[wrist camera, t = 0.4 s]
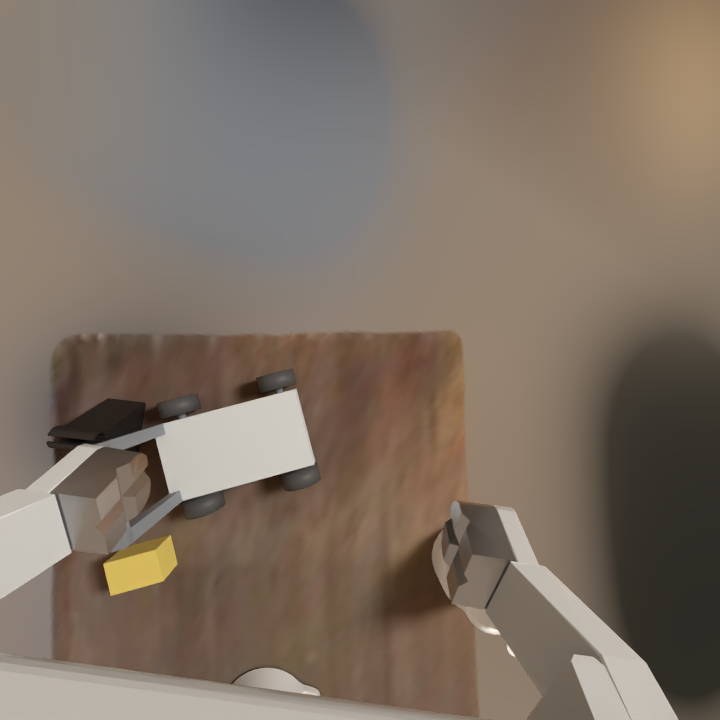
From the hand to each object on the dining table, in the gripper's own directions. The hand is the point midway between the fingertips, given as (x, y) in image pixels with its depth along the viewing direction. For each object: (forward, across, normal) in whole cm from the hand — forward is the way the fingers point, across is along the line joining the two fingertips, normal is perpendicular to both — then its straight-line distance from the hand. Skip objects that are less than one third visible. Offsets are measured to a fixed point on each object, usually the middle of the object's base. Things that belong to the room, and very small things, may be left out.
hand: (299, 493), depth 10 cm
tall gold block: (+32, -27, -52) cm, 67 cm away
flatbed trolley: (+42, -15, -33) cm, 55 cm away
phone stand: (+41, -35, -34) cm, 64 cm away
